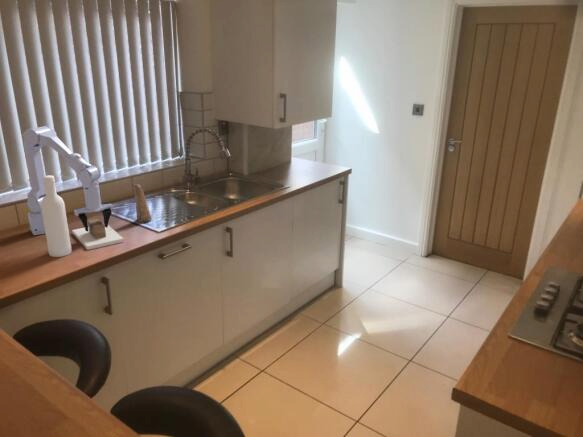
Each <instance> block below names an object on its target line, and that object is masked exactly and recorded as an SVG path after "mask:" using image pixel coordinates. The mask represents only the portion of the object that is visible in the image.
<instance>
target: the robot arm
mask: <svg viewBox="0 0 583 437" xmlns="http://www.w3.org/2000/svg"><path fill="white" fill-rule="evenodd" d="M22 138H23V139H22V140H23V150H24V157H25V159H26V165H27V170H28V171H27V172H28V176H29V180H30V186H31V190H30V191H29V192H28V193H27V202H26V204H27V207H28V209H29V210H30V211H31V212H28V213H27V217H28V218H27V219H28V224H29V231H30V232H31V233H32V235H33V236H37V235H42V234H46V233H45V227H44V221H43V215H42V209H41V202H42V199H43V198H44V197H45V196H46V194H45V188H44V183H43V177H44V176H46V175H45V170H44V165H43V160H42V154H41V149H42V148H43V147H50V148H51V149H52V150H53V151H55V152H57V154H59V155H60V156H61V157H62V158H63V159H65V164H67V166H68V167H69V168H71V169H72V170H73V171H74V172H75V173H76V174H77V175H78V176H77V177H78V180H79V181H80V182H81V185H82V186H81V187H82V188H83V194H84V201H85V207H82V208H77V209H74V210H73V212H74V216H76V217H78V218H79V220H80V221H81V223H82V225H83V228H85V230H86V231H88V227H89V226H88V216H87V214H92V213H96V212H101V213H102V216H103V224H104V225H105V227H106V228H107V227H108V225H109V222H110V218H111V215H112V212H113V211H112V210H114V204H112V203H105V204H102V199H101V192H100V190H101V189H100V182H99V179H101V171H100V168H98V166H96V165H93V164H90V163H89V162H88V161H86V160H85V159H84V158H83V156H82V155H81V154H80V153H76V152H72V151H71V149H69V148H68V147H67V145H66V144H65V143H64V142H63V141H62V140H61V139H60V138H59V137H58V135H57V131H55V130H54V129H53V128H52V127H51V126H50V125H43V126H39V127H34V128H28V129H26V130H25V131H24V132H23V133H22Z"/></svg>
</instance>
